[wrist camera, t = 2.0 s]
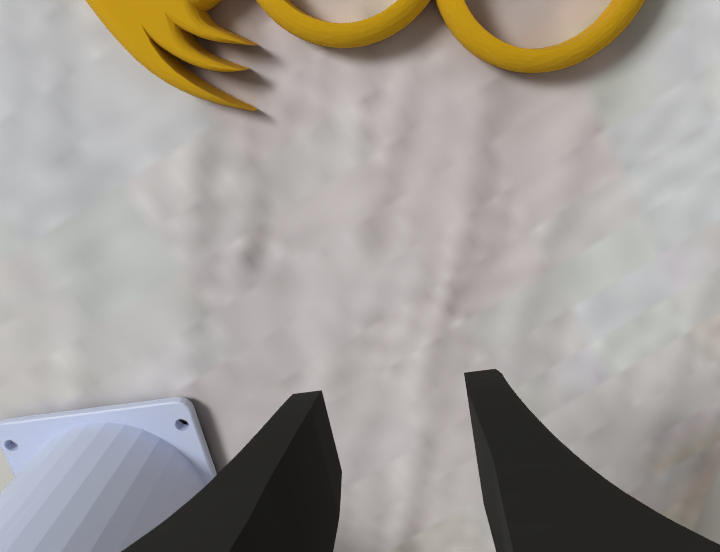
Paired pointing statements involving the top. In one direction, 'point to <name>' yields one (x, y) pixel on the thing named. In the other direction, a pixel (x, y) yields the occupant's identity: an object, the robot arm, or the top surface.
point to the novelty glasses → (324, 36)
